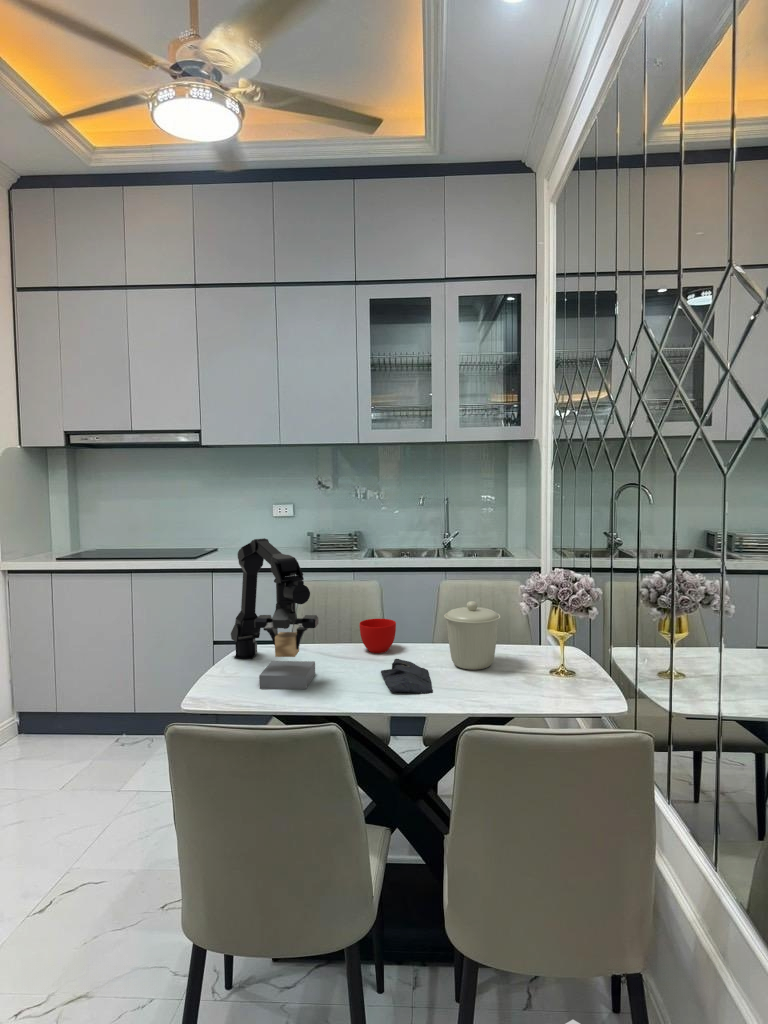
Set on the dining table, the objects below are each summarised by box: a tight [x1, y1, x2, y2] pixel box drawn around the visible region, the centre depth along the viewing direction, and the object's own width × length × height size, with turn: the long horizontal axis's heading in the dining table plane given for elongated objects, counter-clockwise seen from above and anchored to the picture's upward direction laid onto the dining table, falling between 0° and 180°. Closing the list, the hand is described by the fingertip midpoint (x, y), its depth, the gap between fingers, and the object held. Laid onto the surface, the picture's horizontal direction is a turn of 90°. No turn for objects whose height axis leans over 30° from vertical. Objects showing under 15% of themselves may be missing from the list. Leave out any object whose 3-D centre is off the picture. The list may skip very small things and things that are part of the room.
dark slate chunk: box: [380, 658, 434, 694], centre depth 189 cm, size 15×22×5 cm
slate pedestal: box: [258, 660, 316, 690], centre depth 192 cm, size 14×14×4 cm
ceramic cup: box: [359, 618, 397, 654], centre depth 224 cm, size 13×17×10 cm
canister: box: [443, 600, 501, 671], centre depth 203 cm, size 18×18×21 cm
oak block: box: [274, 631, 300, 658], centre depth 191 cm, size 6×6×6 cm
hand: (287, 649), depth 191 cm, fingers closed on oak block, 6 cm apart
